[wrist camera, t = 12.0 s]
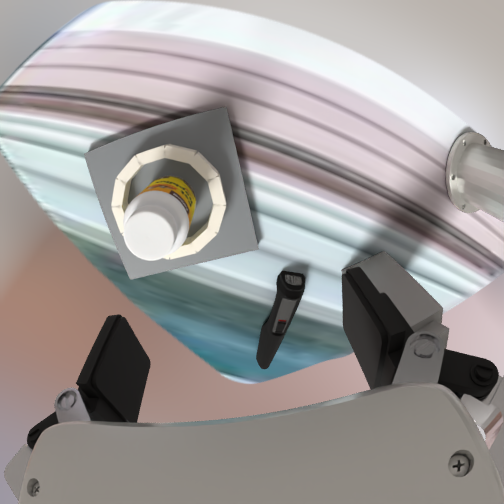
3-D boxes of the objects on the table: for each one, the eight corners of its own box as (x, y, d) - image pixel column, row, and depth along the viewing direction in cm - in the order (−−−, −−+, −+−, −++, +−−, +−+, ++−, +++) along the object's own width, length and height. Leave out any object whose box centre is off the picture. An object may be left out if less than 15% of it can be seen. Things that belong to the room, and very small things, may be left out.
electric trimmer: (249, 354, 41) (251, 369, 39) (278, 268, 35) (283, 282, 32) (272, 356, 42) (275, 371, 39) (305, 273, 36) (312, 286, 33)
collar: (226, 107, 26) (226, 105, 23) (257, 245, 33) (261, 257, 30) (87, 152, 26) (75, 156, 23) (132, 275, 33) (126, 288, 30)
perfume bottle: (389, 287, 38) (457, 372, 22) (350, 306, 39) (407, 403, 23) (384, 250, 35) (467, 334, 19) (341, 270, 36) (410, 371, 20)
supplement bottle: (206, 190, 29) (200, 225, 19) (180, 233, 30) (165, 283, 21) (161, 164, 27) (131, 185, 18) (137, 208, 28) (103, 248, 19)
